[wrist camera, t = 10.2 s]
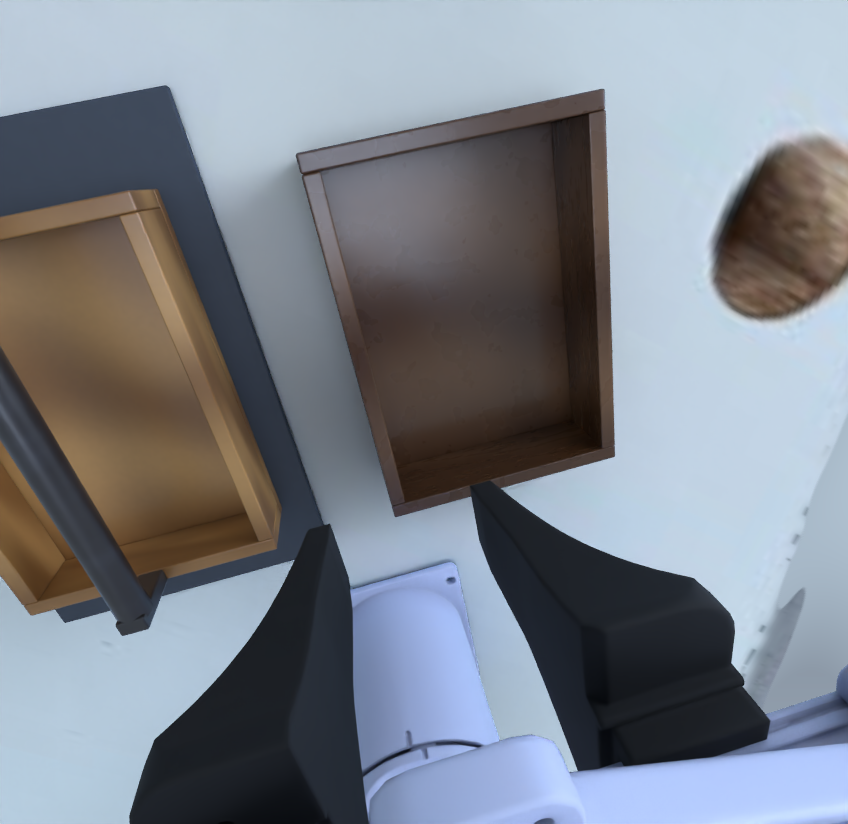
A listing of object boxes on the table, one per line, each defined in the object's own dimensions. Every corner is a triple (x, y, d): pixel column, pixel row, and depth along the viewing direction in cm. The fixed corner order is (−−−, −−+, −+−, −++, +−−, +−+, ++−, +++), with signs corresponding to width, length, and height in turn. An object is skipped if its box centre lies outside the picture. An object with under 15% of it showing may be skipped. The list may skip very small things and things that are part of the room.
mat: (330, 544, 26) (330, 550, 25) (68, 616, 25) (64, 623, 24) (169, 86, 17) (166, 84, 16) (-251, 167, 16) (-264, 167, 15)
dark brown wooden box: (579, 422, 25) (615, 457, 22) (385, 474, 25) (394, 518, 21) (559, 102, 19) (605, 87, 16) (299, 157, 18) (295, 153, 15)
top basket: (282, 507, 24) (272, 595, 19) (64, 565, 23) (-8, 673, 18) (158, 188, 18) (93, 191, 13) (-147, 251, 17) (-345, 281, 12)
